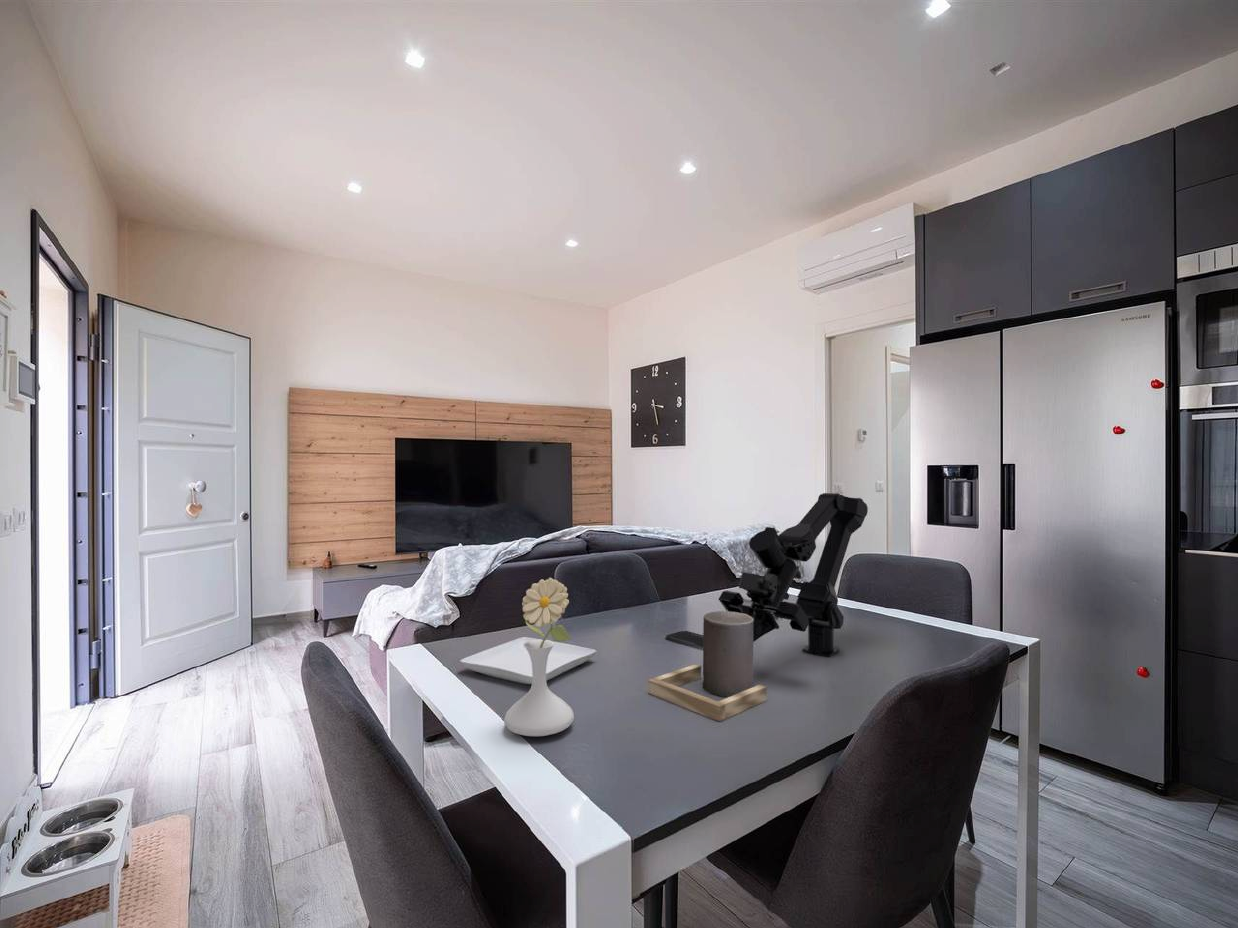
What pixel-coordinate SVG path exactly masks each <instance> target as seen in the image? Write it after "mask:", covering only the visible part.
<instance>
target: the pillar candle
mask: <svg viewBox="0 0 1238 928" xmlns="http://www.w3.org/2000/svg"><path fill="white" fill-rule="evenodd" d="M753 622H754V619H753V618H752V617H751V616H749V615H747V614H743V613H738V612H729V611H728V610H726V611H725V610H724V611H723V610H721V611H720V610H718V611H711V612H707V613H705V614H704V615H703V625H702V626H703V628H702V629H703V633H702V635H703V639H704V640H703V651H702V652H703V655H702V656H703V657H702V664H703V665H702V670H703V671H702V677H703V678H702V680H703V682H702V688H703V689H704V690H705V691H707V692H708V693H710V694H712V695H716V696H720V697H726V698H728V697H731V696H733V695H735V694H738V693H740V692H743V691H745V690H747V689H750V688H752V687H754V642H753Z"/></svg>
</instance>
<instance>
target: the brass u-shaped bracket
mask: <svg viewBox="0 0 1238 928" xmlns="http://www.w3.org/2000/svg"><path fill="white" fill-rule="evenodd" d="M699 679H702V665H701V664H696V663H694V664H692V665H689V666H686V667H683V668H679V669H676V670H674V671H671V672H667V673H665V674H662V675H658V676H655V677H652V678H650V679H647V680H648V681H647V683H648V685H647V686H648V687H647V688H648V691H647V694H650V695H653V697H656V698H659V699H662V700H664V701H667V702H670V703H671V704H673V705H676V706H678V707H679V706H680V707H683V708H684V709H688V710H690V711H691V712H694V713H697V714H699V715H702V716H704V717H707V718H709V719H712V720H715V721H717V722H721V721H724V720H727V719H729V718H730V717H732V716H735V715H737V714H739V713H741V712H744V711H747V710H748V709H752V708H753V707H755V706H757V705H760V704H762V703H764V702H766V701H767V686H765V685H762V684H757V685H756V686H753V687H752V688H750V689H747V690H745V691H743V692H740V693H738V694H735V695H733V696H731V697H726V698H723V699H721V700H718V701H717V700H714V699H711V698H709V697H706V696H704V695H701V694H698V693H695V692H692V691H690V690H688V689H685V688H682V687H681V686H684V685H686V684H689V683H691V682H694V681H697V680H699Z"/></svg>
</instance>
